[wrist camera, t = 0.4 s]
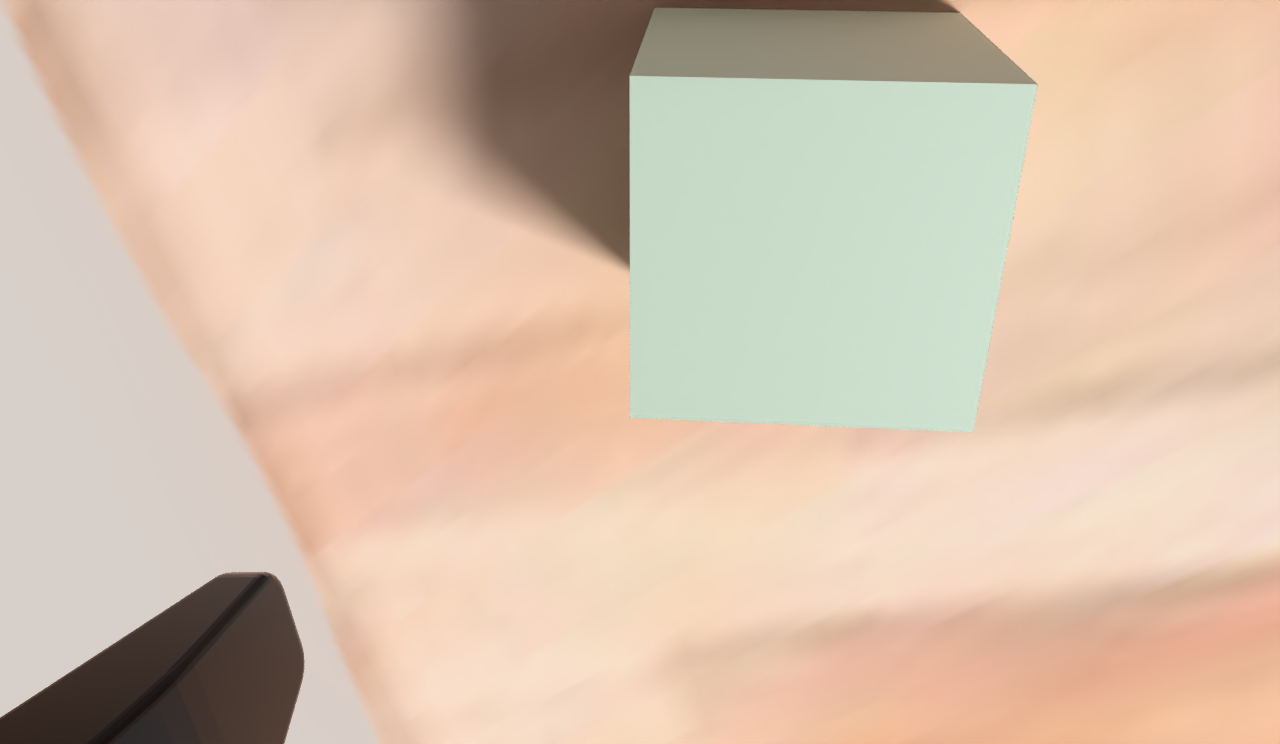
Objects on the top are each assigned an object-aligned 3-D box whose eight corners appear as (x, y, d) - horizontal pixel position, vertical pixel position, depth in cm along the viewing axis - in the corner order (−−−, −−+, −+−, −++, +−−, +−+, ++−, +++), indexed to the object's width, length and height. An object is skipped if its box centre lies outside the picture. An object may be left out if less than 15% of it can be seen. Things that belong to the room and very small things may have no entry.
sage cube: (959, 11, 17) (1038, 84, 13) (919, 290, 19) (972, 431, 15) (655, 7, 17) (628, 75, 13) (652, 281, 20) (630, 417, 15)
